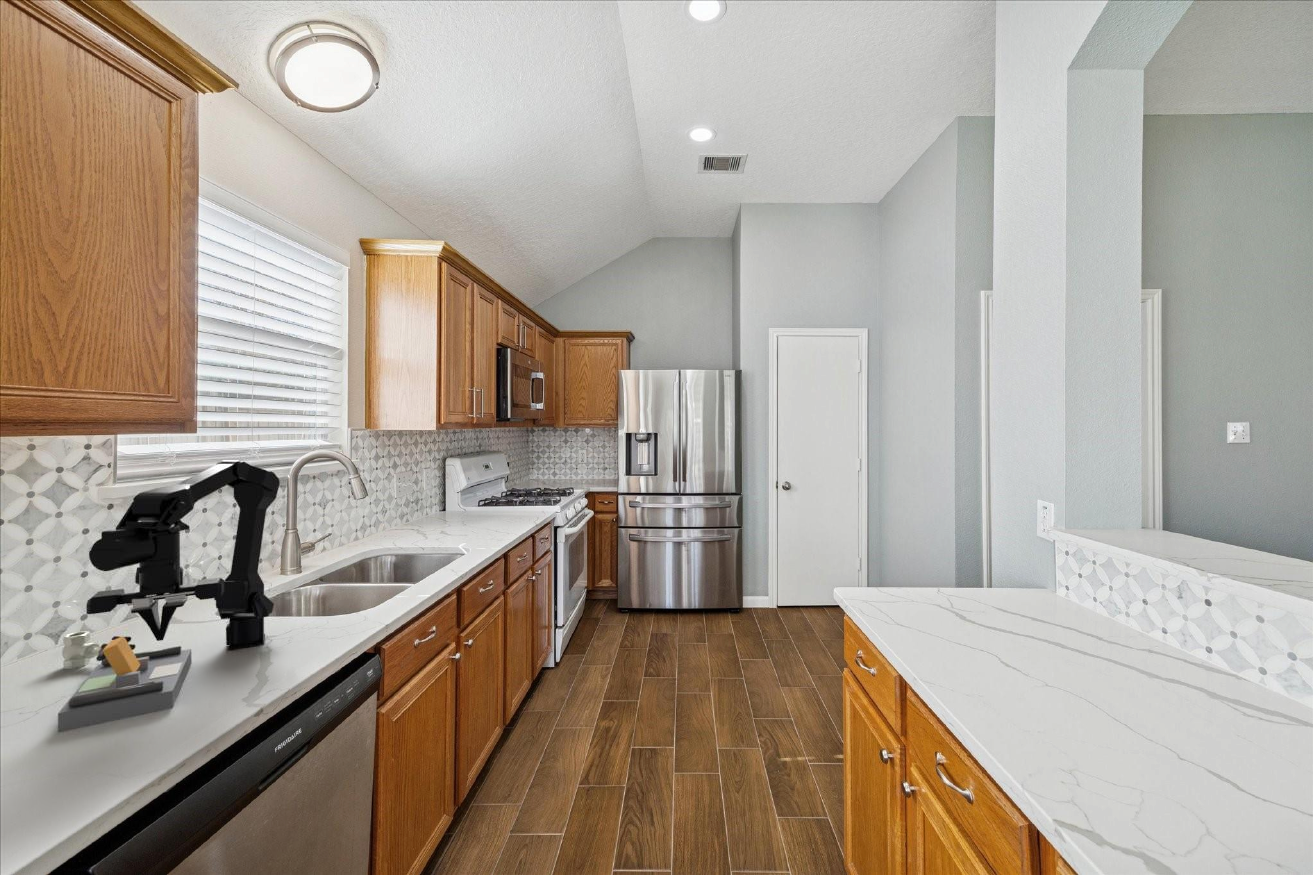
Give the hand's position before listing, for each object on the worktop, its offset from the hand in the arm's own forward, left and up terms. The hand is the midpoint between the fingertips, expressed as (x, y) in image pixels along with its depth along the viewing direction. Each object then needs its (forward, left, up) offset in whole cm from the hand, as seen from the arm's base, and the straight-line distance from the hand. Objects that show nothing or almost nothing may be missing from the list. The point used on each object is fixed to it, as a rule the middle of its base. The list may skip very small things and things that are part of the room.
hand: (160, 639), depth 103 cm
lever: (+4, 0, -6) cm, 7 cm away
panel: (+4, 0, -9) cm, 10 cm away
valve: (+13, -20, -10) cm, 26 cm away
